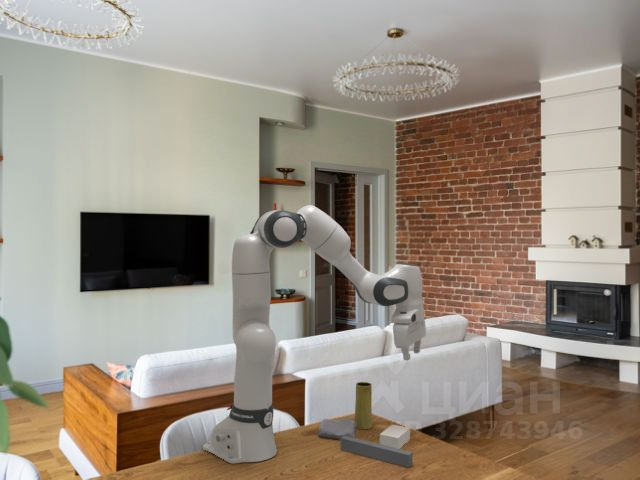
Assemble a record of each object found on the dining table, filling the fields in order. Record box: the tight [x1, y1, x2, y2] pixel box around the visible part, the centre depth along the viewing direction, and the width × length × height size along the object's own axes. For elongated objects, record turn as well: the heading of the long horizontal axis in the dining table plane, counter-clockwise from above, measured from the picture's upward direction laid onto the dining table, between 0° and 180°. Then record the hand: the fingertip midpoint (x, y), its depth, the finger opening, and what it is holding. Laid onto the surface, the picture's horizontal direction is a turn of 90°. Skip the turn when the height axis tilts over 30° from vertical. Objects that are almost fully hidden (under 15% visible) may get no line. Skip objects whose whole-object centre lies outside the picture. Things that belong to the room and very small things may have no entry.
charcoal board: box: [340, 436, 414, 469], centre depth 158 cm, size 22×2×4 cm, turn 57°
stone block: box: [318, 418, 356, 441], centre depth 176 cm, size 12×5×10 cm
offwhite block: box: [379, 423, 411, 449], centre depth 169 cm, size 6×10×4 cm, turn 150°
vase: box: [354, 381, 373, 430], centre depth 183 cm, size 6×6×14 cm
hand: (412, 356), depth 176 cm, fingers open, 8 cm apart
